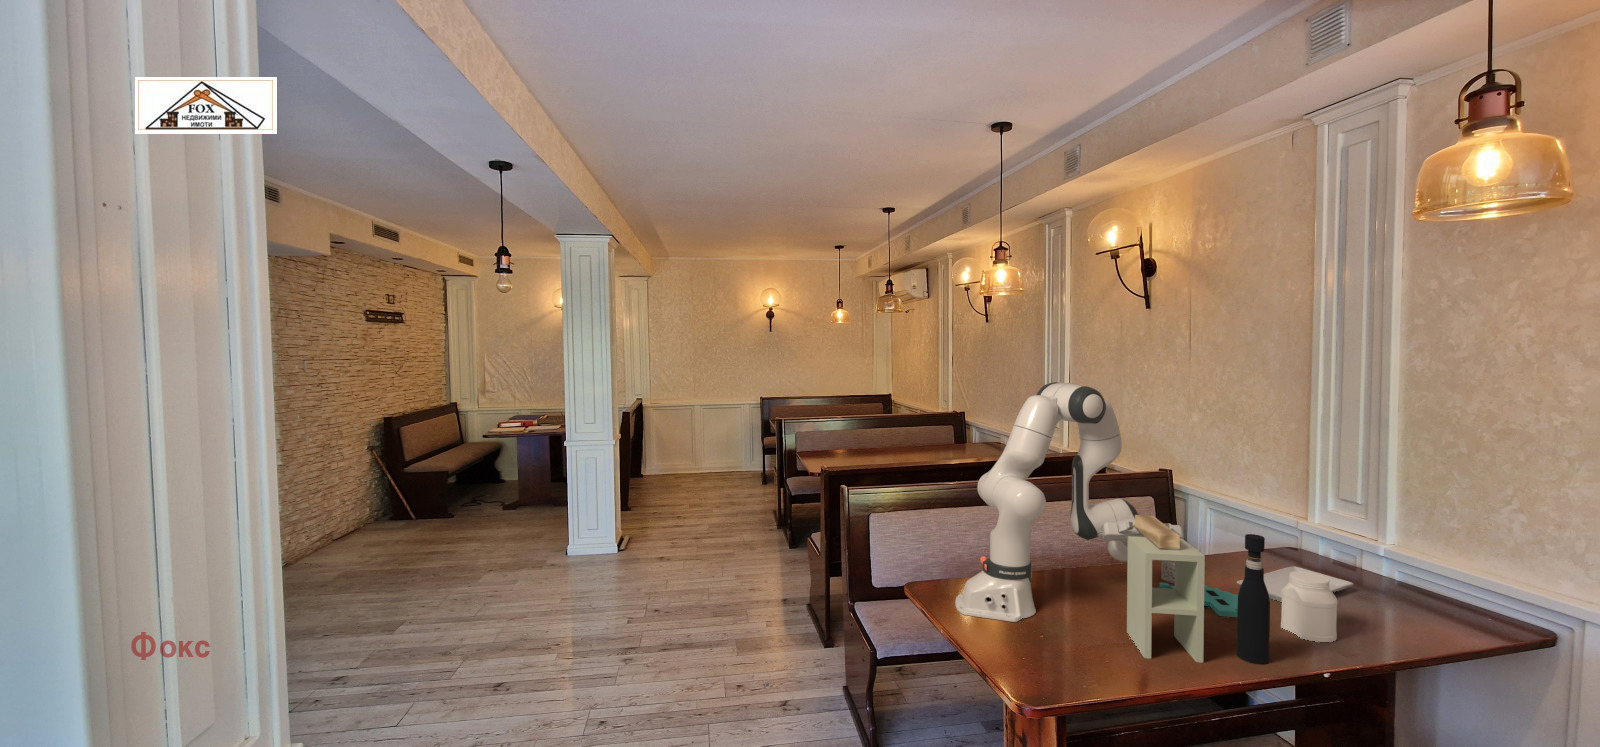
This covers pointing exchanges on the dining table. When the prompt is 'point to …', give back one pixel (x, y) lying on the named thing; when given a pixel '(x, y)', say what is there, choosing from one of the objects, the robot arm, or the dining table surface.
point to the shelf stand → (1166, 595)
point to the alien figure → (1217, 600)
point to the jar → (1309, 607)
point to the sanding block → (1157, 532)
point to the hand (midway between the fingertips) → (1149, 525)
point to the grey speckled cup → (1168, 571)
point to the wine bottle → (1253, 607)
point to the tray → (1281, 578)
